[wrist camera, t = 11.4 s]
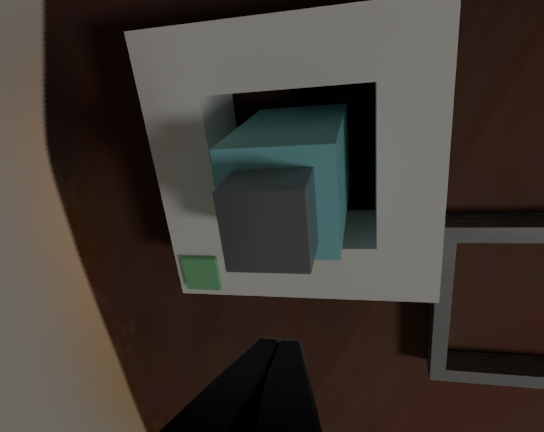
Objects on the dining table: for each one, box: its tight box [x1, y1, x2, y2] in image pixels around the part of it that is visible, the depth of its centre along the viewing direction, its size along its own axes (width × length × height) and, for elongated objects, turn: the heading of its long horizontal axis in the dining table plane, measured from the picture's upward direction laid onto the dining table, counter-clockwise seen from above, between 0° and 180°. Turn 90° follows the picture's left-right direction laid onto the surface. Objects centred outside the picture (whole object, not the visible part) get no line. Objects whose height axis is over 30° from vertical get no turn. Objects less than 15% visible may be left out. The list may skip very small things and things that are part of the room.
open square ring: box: [426, 213, 544, 389], centre depth 20 cm, size 9×9×2 cm
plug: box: [210, 103, 350, 274], centre depth 16 cm, size 4×4×9 cm
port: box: [124, 0, 461, 303], centre depth 18 cm, size 12×12×4 cm
